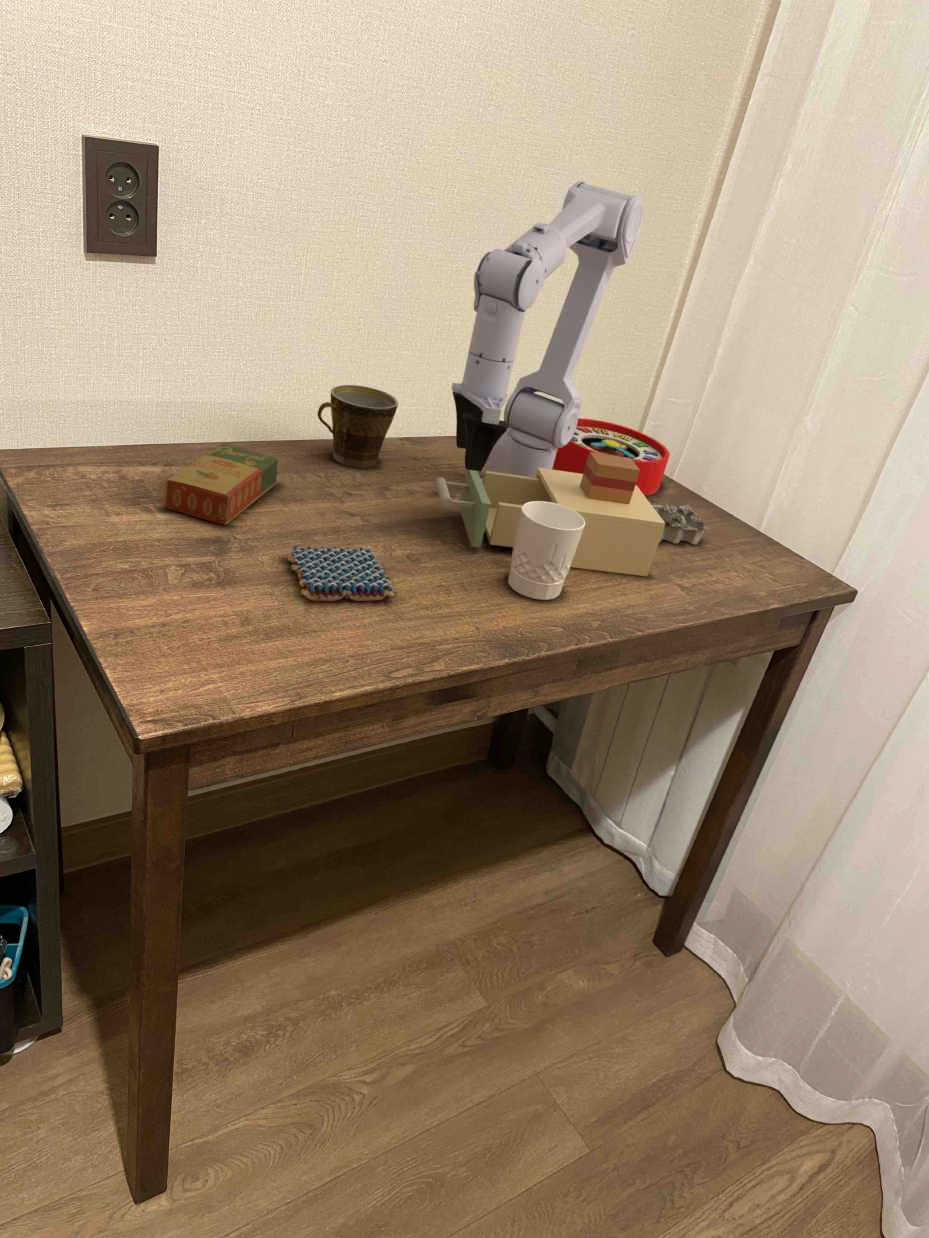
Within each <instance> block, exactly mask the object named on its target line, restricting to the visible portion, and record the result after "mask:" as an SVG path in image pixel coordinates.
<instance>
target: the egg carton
mask: <svg viewBox="0 0 929 1238" xmlns="http://www.w3.org/2000/svg"><path fill="white" fill-rule="evenodd" d="M651 505H652V506H653V508H654V509H655V510H656V512H657V513H658V514H659V516H660V517H661V518H662V519H663V521H664V522H665V525H664V528H663V531H662V534H661V537H660V540H659V543H661V541H663V540H665V541H667V542H670V543H672V544H679V543H680V541H684V542H687V543H689V544H690V545H697V544H698V543H699V542H700V541H701V538H702V535H703V534H706V531H707V530H710V527H709V526H706V525H705V520H704V519H701V517H700V515H698V513H697V512H694V510H693V509H692V507H691V506H690V504H683V505H670V506H669V505H668V503H664V504H651ZM659 543H658V544H659Z"/></svg>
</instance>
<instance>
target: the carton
mask: <svg viewBox="0 0 929 1238" xmlns="http://www.w3.org/2000/svg"><path fill="white" fill-rule="evenodd" d="M278 459H279V458H278V457H277V456H273V455H269V454H265V453H262V452H258V451H254V450H249V449H246V448H242V447H238V446H235V445H231V444H227V443H221V444H219V446H216V447H215V448H214V449H212V450H211V451H209V452H208V453H206V454H205V455H203V456H202V457H200V458H198V459H196V460H195V461H194V462H192V463H191V464H189V465H188V466H186V467H185V468H182V470H179V472H177V473H175V474H173V475H172V476H171V477H169V478H167V480H166V485H165V498H164V500H165V501H164V502H165V503H164V504H165V506H164V509H168V510H171V511H174V512H178V513H182V514H185V515H187V516H188V515H189V516H192V517H195V518H198V519H201V520H205V521H209V522H212V523H216V524H220V525H228V524H230V523H231V521H233V520H234V519H235V518H236V517H237V516H239V515H240V514H241V513H242V512H244V511H245V510H246V509H248V508H249V507H250V506H251V505H252V504H253V503H255V502H256V501H257V500H258V499H260V498H261V497H262V496H264V494H266V493H267V492H269V491H270V490H271V489H273V488H274V487H275V486H276V485H277V477H278V465H279V464H278V463H279V460H278Z"/></svg>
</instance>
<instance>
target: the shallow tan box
mask: <svg viewBox="0 0 929 1238" xmlns="http://www.w3.org/2000/svg"><path fill="white" fill-rule="evenodd" d="M582 477H583V474H579V473H572V472H566V471H559V470H554V469H553V468H552V469H545V468H538V469H537V473H536V477H535V478H540V479H541V481H542V483H543V485H544V487H545V489H546V490H547V492H548V494H549V496H550V498H551V500H552V501H553V503H556V504H559V505H562V506H565V507H568V508H570V509H572V510H574V511H576V512H577V513H579V514H580V515H581V516H582V517H583V518H584V520H585V526H584V529H583V532H582V535H581V538H580V541H579V544H578V546H577V549H576V552H575V555H574V558H573V561H572V563H571V566H570V568H575V569H583V570H592V571H598V572H599V571H600V572H606V573H607V572H608V573H614V574H615V573H617V574H622V575H631V576H632V575H633V576H639V577H648V575H649V571H650V569H651V565H652V563H653V560H654V558H655V555H656V551H657V548H658V547H659V540H660V537H661V534H662V531H663V528H664V525H665V522H664V521H663V519H662V518H661V517H660V516H659V514H658V513H657V512H656V510H655V509H654V508H653V506H652V505H653V504H651V502H650V501H649V499H648V498H646V495H643V493H642V492H641V491H640V489H639V488H638V487H637V485H636V486H635V489H634V491H633V494H632V497H631V500H630V503H629V504H625V503H617V502H610V501H603V500H596V499H589V498H588V497H587V496H586V494H585V493H584V491H583V490H582V488H581V486H580V484H581V480H582Z"/></svg>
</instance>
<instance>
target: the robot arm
mask: <svg viewBox="0 0 929 1238" xmlns="http://www.w3.org/2000/svg"><path fill="white" fill-rule="evenodd" d="M561 207H562V208H561V211H559V212H558V214H557V215H556V216H555V217H554V218H553V220H551V221H550V223H543V222H540V221H537V222H536V223H535V224H534V225H533V226H532V227H531V228H529V229H528V230H526V232H524V233H523V234H522V235H521V236H519V237H518V238H517V239H515V240H514V241H513V242H512V243H511V244H509V245H508V246H507V247H506V248H505V249H499V248H495V249H493V250H492V251H488V252H486V253H485V254H483V256H482V257H481V259H480V261H479V263H478V265H477V267H476V271H475V272H474V277H473V289H474V301H473V311H474V312H475V313H476V314H475V318H474V322H473V328H472V333H471V337H470V343H469V347H468V353H467V356H466V357H467V358H466V362H465V367H464V372H463V375H462V380H461V383H459V382H458V383H457V382H452V384H451V387H450V388H451V391H452V397H453V401H454V407H455V415H456V417H455V418H456V428H455V429H456V432H455V440H456V441H455V442H456V444H455V445H456V448H458V449H464V451H465V452H464V468H465V470H466V469H467V470H474V471H478V472H483V469H484V468H485V465H486V464H487V462H488V466H487V470H486V471H491V472H498V473H505V474H512V475H519V476H526V477H533V478H535V477H536V473H537V469H538V468H545V469H552V470H553V464H554V460H555V457H556V453H557V449H558V448H562V447H563V446H565V445H566V444H567V443H568V442H569V441H570V440H571V438H572V436H573V434H574V432H575V429H576V426H577V422H578V418H579V414H580V412H581V409H582V402H583V401H582V398H581V396H580V393H579V392H578V390H577V389H576V388H575V386H574V384H573V381H572V379H573V377H574V373H575V371H576V369H577V366H578V364H579V360H580V358H581V355H582V353H583V350H584V347H585V344H586V342H587V340H588V337H589V334H590V331H591V329H592V326H593V324H594V321H595V318H596V316H597V313H598V311H599V308H600V307H601V306H600V305H601V303H602V300H603V298H604V295H605V293H606V289H607V287H608V285H609V283H610V280H611V277H612V275H613V273H614V270H615V268H617V267H620V266H624V265H626V264H627V263H628V260H629V258H630V257H631V255H632V252H633V250H634V248H635V245H636V242H637V239H638V238H639V237H638V236H639V234H640V231H641V230H642V225H643V219H644V203H643V200H642V198H641V196H639V195H630V194H626V193H622V192H619V191H616V190H611V189H607V188H604V187H601V186H596V185H593V184H588V183H586V182H585V181H582V180H578V181H576V182H575V183H574V184H573V185H571V186H570V188H569V189H568V190H567V192H566V195H565V197H564V199H563V203H562V206H561ZM567 249H570V250H571V251H572V252H573V253H574V254H575V255H576V256H577V261H578V264H577V267H576V270H575V273H574V275H573V278H572V279H571V283H570V285H569V289H568V291H567V293H566V296H565V299H564V302H563V304H562V307H561V311H560V313H559V316H558V318H557V320H556V324H555V326H554V329H553V331H552V334H551V336H550V340H549V343H548V345H547V347H546V350H545V352H544V356H543V359H542V361H541V364H540V367H539V369H538V370H536V371H534V372H532V373H529V374H527V375H524V376H521V377H520V378H519V380H518V381H517V383H516V386H515V388H514V390H513V391H512V393H511V394H510V396H509V397H508V393H507V391H508V388H509V383H510V379H511V375H512V370H513V367H514V362H515V358H516V355H517V354H516V353H517V349H518V345H519V341H520V336H521V331H522V328H523V322H524V320H525V314H526V310H529V309H530V308H531V307H533V305H534V303H535V302H536V300H537V297H538V295H539V293H540V291H541V290H542V289H543V287H544V285H545V280H547V278H549V276H550V275H552V274H553V273H554V272H555V271H556V270H557V269H558V268H559V267H560V266H561V265H563V264H564V262H565V259H566V257H567V254H568V253H567V252H568V251H567ZM537 393H543V394H545V395H548V396H551V397H553V398H556V399H559V400H561V402H560V401H557V400H555V399H552V398H549V397H546V396H543V395H540V394H537ZM507 398H508V399H507ZM503 406H504V410H503ZM502 411H503V420H502V419H501V415H502ZM500 419H501V420H500ZM488 459H489V461H488ZM481 481H482V482H483V478H481Z"/></svg>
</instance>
